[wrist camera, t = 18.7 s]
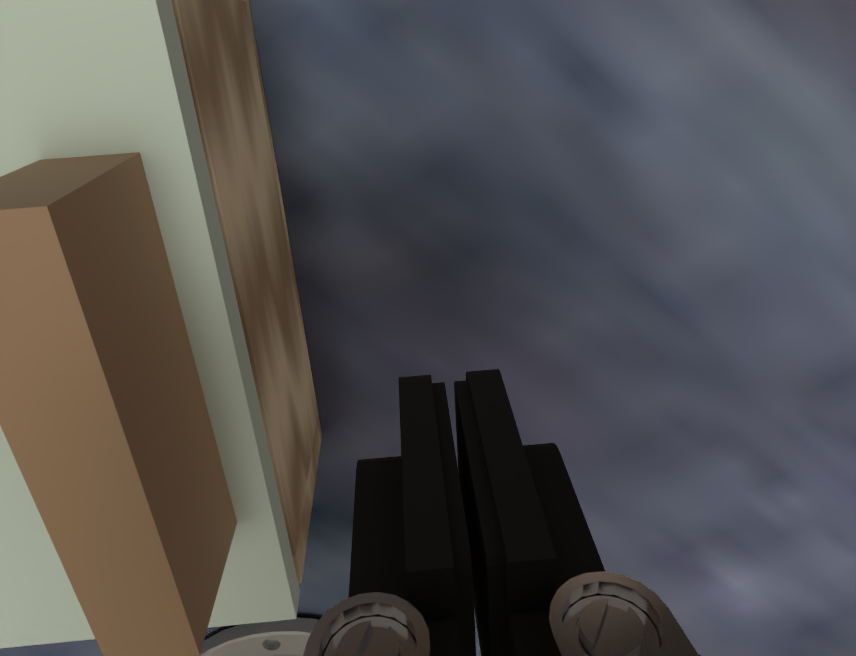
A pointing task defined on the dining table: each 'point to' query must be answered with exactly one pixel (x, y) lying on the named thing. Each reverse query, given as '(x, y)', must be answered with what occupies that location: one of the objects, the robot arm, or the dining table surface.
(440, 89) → the dining table surface
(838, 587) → the dining table surface
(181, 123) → the lid
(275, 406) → the toolbox
